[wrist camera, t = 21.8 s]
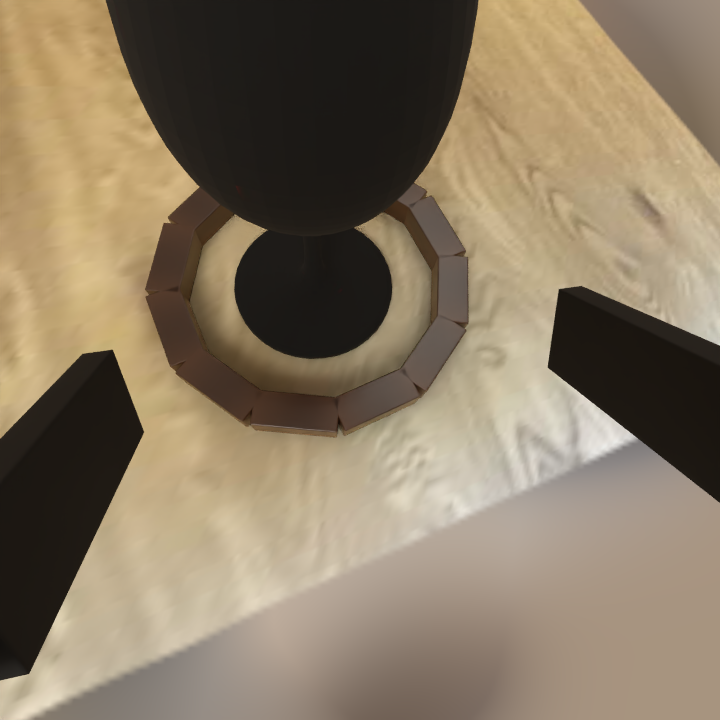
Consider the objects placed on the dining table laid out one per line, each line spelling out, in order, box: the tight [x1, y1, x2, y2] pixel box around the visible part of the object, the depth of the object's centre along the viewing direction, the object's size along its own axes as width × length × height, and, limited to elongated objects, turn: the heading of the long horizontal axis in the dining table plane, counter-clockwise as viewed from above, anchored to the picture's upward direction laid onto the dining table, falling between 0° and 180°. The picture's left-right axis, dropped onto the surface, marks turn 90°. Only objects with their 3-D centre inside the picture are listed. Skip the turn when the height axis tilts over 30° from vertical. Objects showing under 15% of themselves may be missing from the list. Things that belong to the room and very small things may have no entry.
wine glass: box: [106, 0, 478, 359], centre depth 18 cm, size 10×10×20 cm
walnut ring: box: [145, 183, 468, 437], centre depth 27 cm, size 20×20×2 cm
